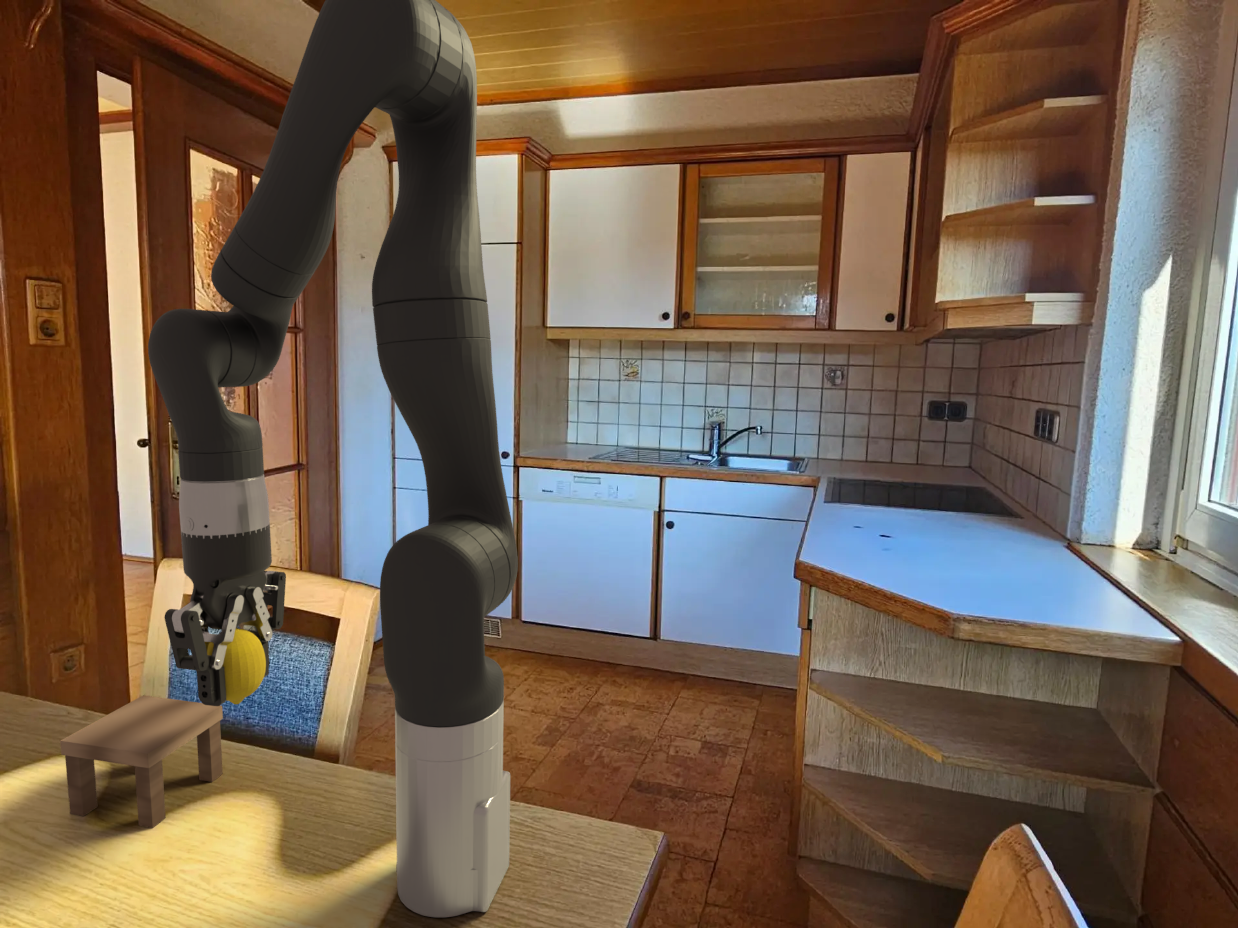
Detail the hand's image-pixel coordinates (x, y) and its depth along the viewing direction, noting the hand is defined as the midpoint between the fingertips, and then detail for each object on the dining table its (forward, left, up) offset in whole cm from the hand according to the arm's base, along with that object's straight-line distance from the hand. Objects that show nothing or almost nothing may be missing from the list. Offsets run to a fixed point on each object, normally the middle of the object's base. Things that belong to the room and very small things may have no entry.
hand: (236, 688), depth 72 cm
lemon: (0, 0, -2) cm, 2 cm away
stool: (+12, -1, -14) cm, 18 cm away
